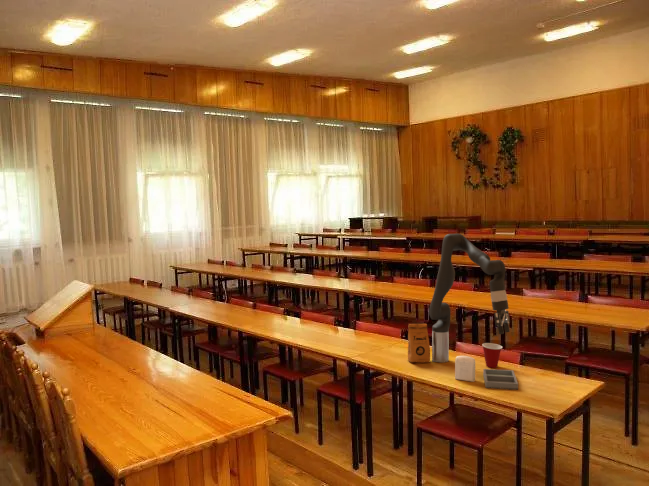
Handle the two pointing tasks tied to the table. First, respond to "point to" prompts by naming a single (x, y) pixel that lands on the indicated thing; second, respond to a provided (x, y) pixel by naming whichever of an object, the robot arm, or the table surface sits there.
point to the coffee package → (418, 343)
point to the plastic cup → (491, 354)
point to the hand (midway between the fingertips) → (504, 333)
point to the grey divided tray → (500, 379)
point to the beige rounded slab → (465, 368)
